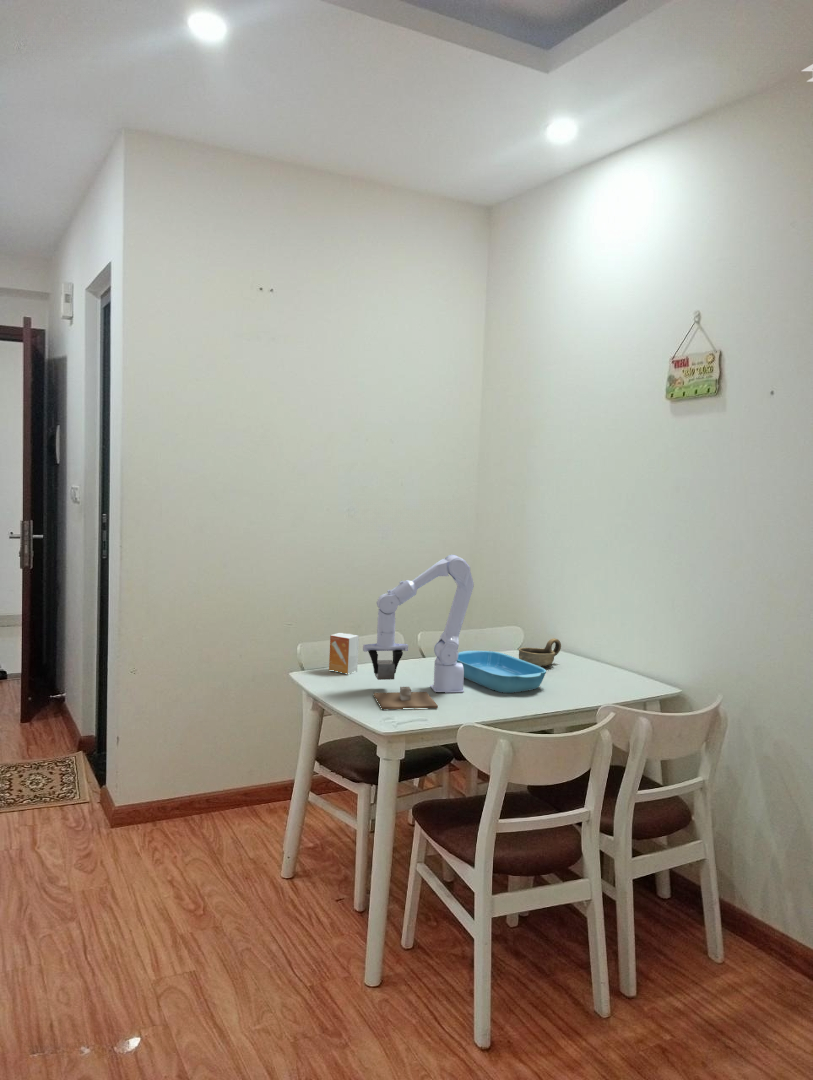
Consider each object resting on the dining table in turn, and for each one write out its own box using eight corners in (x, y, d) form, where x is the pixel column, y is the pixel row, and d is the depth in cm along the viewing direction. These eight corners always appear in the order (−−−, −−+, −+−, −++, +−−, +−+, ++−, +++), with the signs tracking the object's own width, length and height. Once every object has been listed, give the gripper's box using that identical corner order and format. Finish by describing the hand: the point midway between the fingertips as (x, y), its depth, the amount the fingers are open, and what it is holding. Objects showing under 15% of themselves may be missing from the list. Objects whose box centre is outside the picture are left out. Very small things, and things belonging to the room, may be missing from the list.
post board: (426, 694, 258) (426, 681, 258) (437, 708, 243) (438, 694, 243) (373, 695, 254) (374, 681, 254) (382, 710, 240) (382, 695, 239)
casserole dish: (558, 692, 269) (559, 670, 268) (505, 700, 257) (506, 677, 256) (489, 666, 300) (490, 647, 299) (439, 672, 288) (440, 653, 287)
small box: (328, 671, 282) (329, 634, 281) (338, 668, 288) (340, 632, 286) (347, 675, 278) (349, 638, 277) (357, 671, 284) (359, 635, 283)
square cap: (391, 675, 265) (391, 660, 264) (394, 679, 259) (394, 664, 259) (374, 675, 263) (375, 660, 263) (377, 679, 258) (378, 664, 258)
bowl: (510, 662, 306) (511, 636, 306) (548, 659, 314) (550, 634, 313) (529, 671, 294) (531, 644, 293) (569, 668, 301) (571, 642, 300)
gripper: (405, 628, 265) (404, 669, 267) (361, 629, 262) (360, 670, 264) (410, 633, 259) (408, 674, 260) (365, 633, 255) (364, 675, 257)
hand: (384, 672), depth 261 cm, fingers closed on square cap, 5 cm apart
